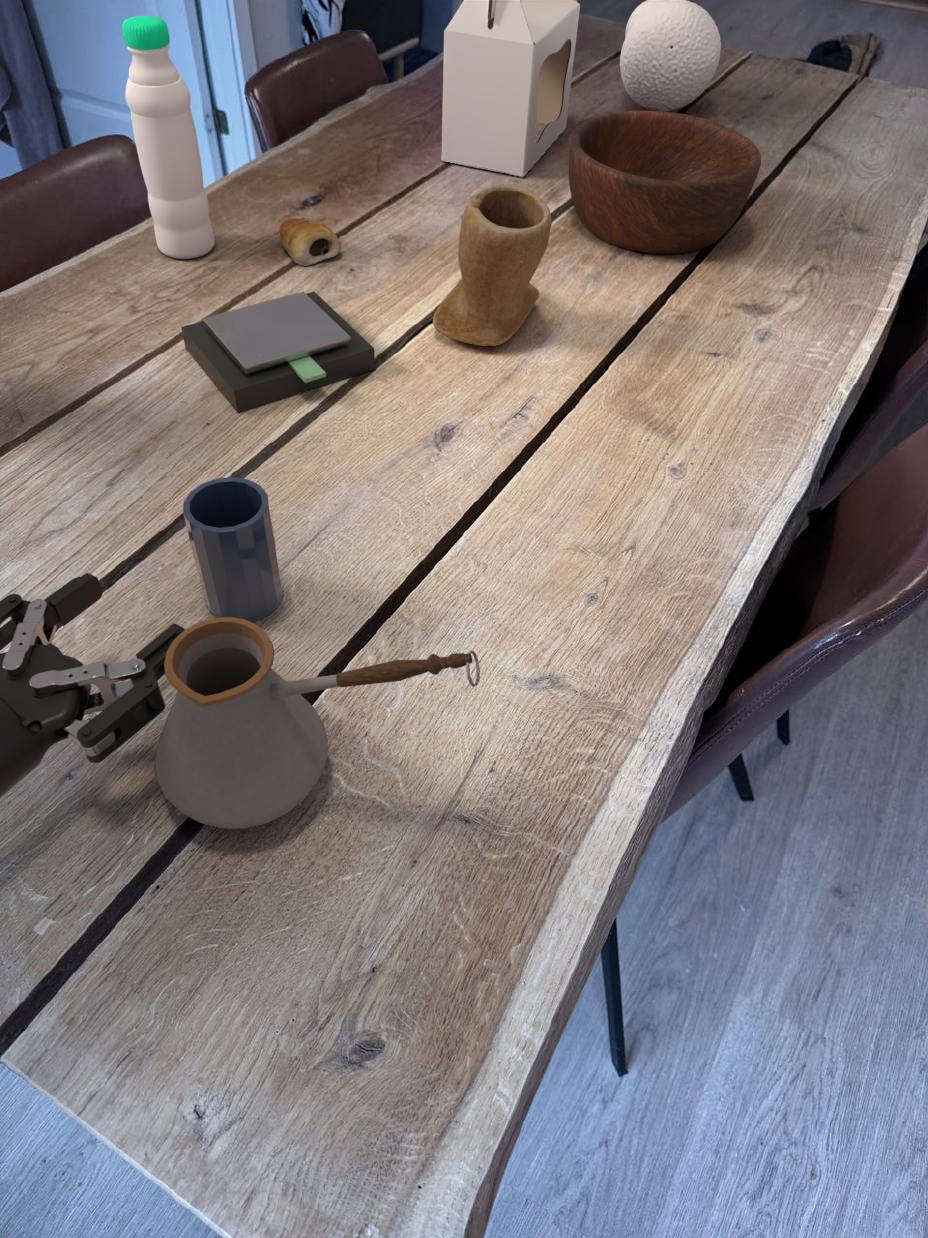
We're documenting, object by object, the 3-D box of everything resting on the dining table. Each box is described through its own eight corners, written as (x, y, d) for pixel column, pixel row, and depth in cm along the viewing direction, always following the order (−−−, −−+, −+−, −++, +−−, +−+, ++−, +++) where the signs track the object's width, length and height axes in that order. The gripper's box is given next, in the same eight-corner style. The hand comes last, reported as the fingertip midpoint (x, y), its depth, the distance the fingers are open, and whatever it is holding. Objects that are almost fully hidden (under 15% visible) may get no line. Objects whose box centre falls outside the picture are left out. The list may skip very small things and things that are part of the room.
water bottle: (223, 254, 114) (186, 25, 96) (168, 265, 112) (119, 32, 93) (204, 231, 118) (165, 7, 100) (151, 241, 116) (101, 13, 97)
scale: (246, 423, 91) (241, 398, 89) (185, 348, 100) (180, 324, 97) (384, 378, 97) (383, 354, 95) (316, 311, 106) (314, 288, 104)
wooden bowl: (648, 283, 114) (664, 200, 106) (523, 209, 127) (530, 130, 119) (779, 236, 124) (803, 157, 116) (652, 171, 137) (665, 97, 130)
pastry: (267, 239, 118) (264, 209, 115) (314, 228, 120) (312, 199, 117) (299, 269, 112) (296, 239, 110) (347, 258, 115) (346, 228, 112)
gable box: (490, 114, 151) (503, -97, 130) (566, 128, 148) (591, -86, 127) (440, 162, 136) (445, -67, 116) (523, 179, 134) (543, -53, 113)
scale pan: (245, 374, 91) (244, 367, 91) (203, 324, 97) (201, 317, 97) (350, 343, 96) (350, 336, 95) (304, 297, 102) (303, 290, 101)
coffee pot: (140, 838, 60) (78, 701, 49) (191, 700, 67) (147, 554, 56) (462, 871, 59) (473, 740, 48) (476, 727, 67) (488, 586, 56)
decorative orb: (658, 135, 147) (679, 22, 135) (578, 104, 156) (591, -6, 144) (731, 109, 157) (757, 1, 145) (652, 81, 165) (671, -24, 153)
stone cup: (517, 365, 100) (530, 231, 89) (419, 339, 103) (420, 205, 92) (562, 304, 109) (579, 175, 98) (472, 281, 112) (478, 154, 101)
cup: (224, 634, 72) (202, 542, 65) (194, 587, 75) (170, 494, 68) (295, 605, 74) (282, 513, 67) (263, 560, 78) (247, 467, 70)
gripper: (-6, 793, 49) (204, 613, 59) (-164, 677, 54) (54, 528, 64) (36, 858, 55) (222, 685, 64) (-110, 748, 60) (83, 602, 69)
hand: (138, 607), depth 64 cm, fingers open, 8 cm apart
